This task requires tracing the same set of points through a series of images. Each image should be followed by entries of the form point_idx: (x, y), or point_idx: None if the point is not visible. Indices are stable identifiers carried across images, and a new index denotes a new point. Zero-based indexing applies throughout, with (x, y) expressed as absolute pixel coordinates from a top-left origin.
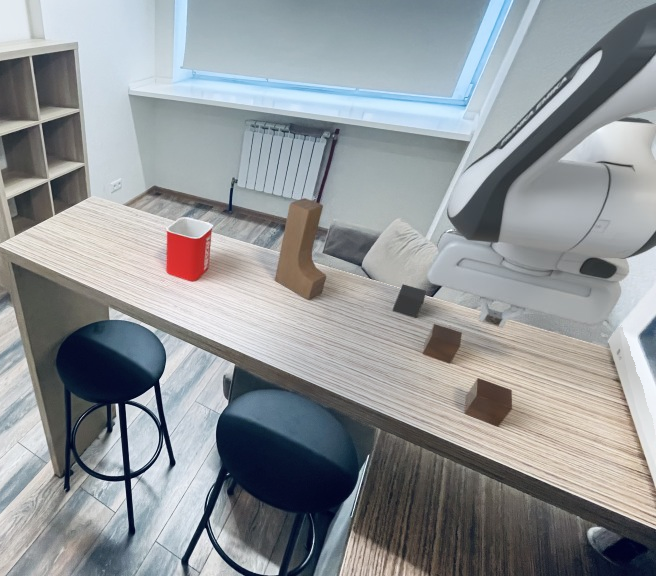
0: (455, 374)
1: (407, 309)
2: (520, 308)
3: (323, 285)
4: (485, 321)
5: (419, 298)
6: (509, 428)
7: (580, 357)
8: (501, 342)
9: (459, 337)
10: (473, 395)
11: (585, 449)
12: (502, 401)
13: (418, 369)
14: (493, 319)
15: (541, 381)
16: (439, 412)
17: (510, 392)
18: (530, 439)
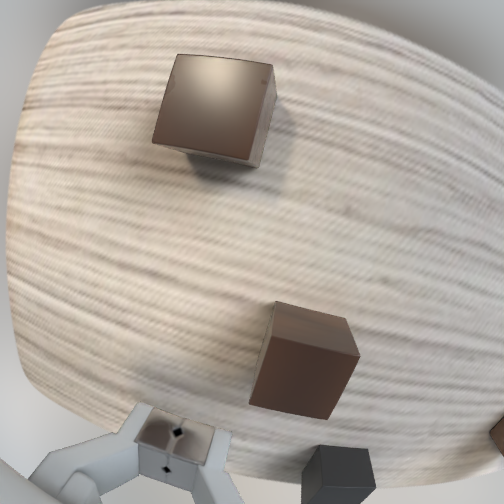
0: (268, 257)
1: (344, 459)
2: (51, 483)
3: (500, 442)
4: (205, 430)
5: (329, 490)
6: None
7: (42, 376)
8: None
9: (262, 380)
10: (268, 98)
11: (63, 112)
12: (195, 71)
13: (371, 243)
14: (173, 439)
15: (83, 297)
16: (339, 80)
17: (158, 126)
18: (144, 80)
